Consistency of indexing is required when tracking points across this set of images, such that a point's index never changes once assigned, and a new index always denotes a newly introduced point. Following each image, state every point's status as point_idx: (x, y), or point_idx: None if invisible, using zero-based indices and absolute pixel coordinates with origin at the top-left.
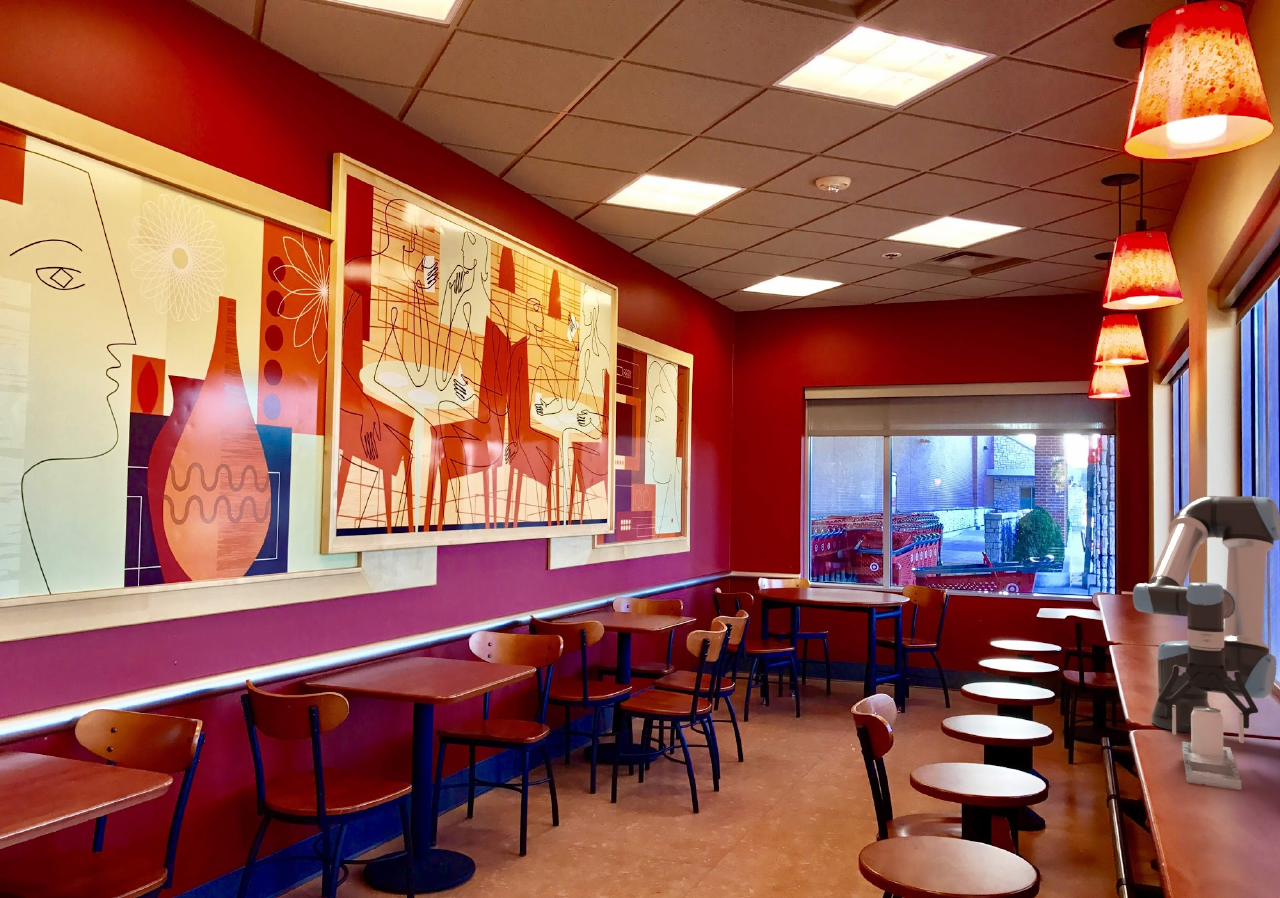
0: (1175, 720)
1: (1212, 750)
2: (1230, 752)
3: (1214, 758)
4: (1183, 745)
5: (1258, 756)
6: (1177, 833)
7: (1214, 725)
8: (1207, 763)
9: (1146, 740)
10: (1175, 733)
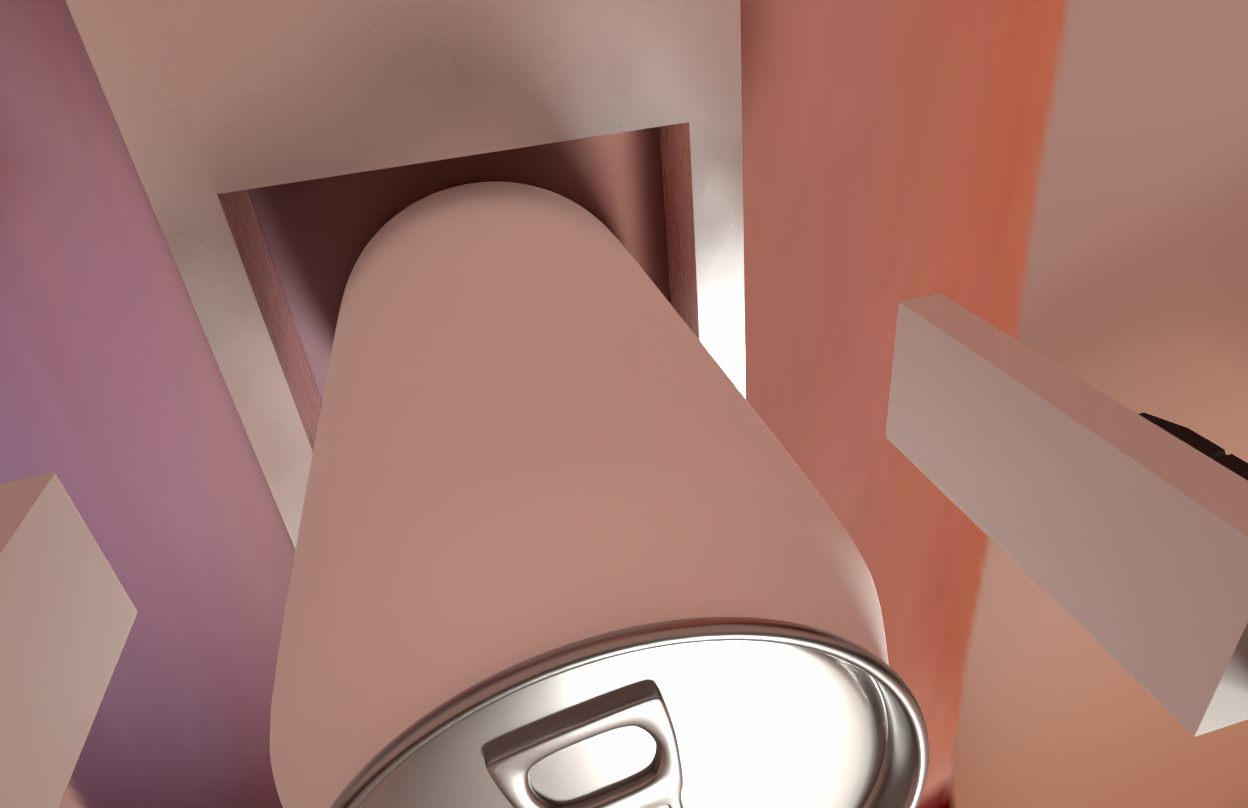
0: (1052, 400)
1: (428, 237)
2: (286, 490)
3: (366, 19)
4: None
5: (155, 754)
6: None
7: (401, 439)
8: None
9: (946, 585)
10: (918, 304)
